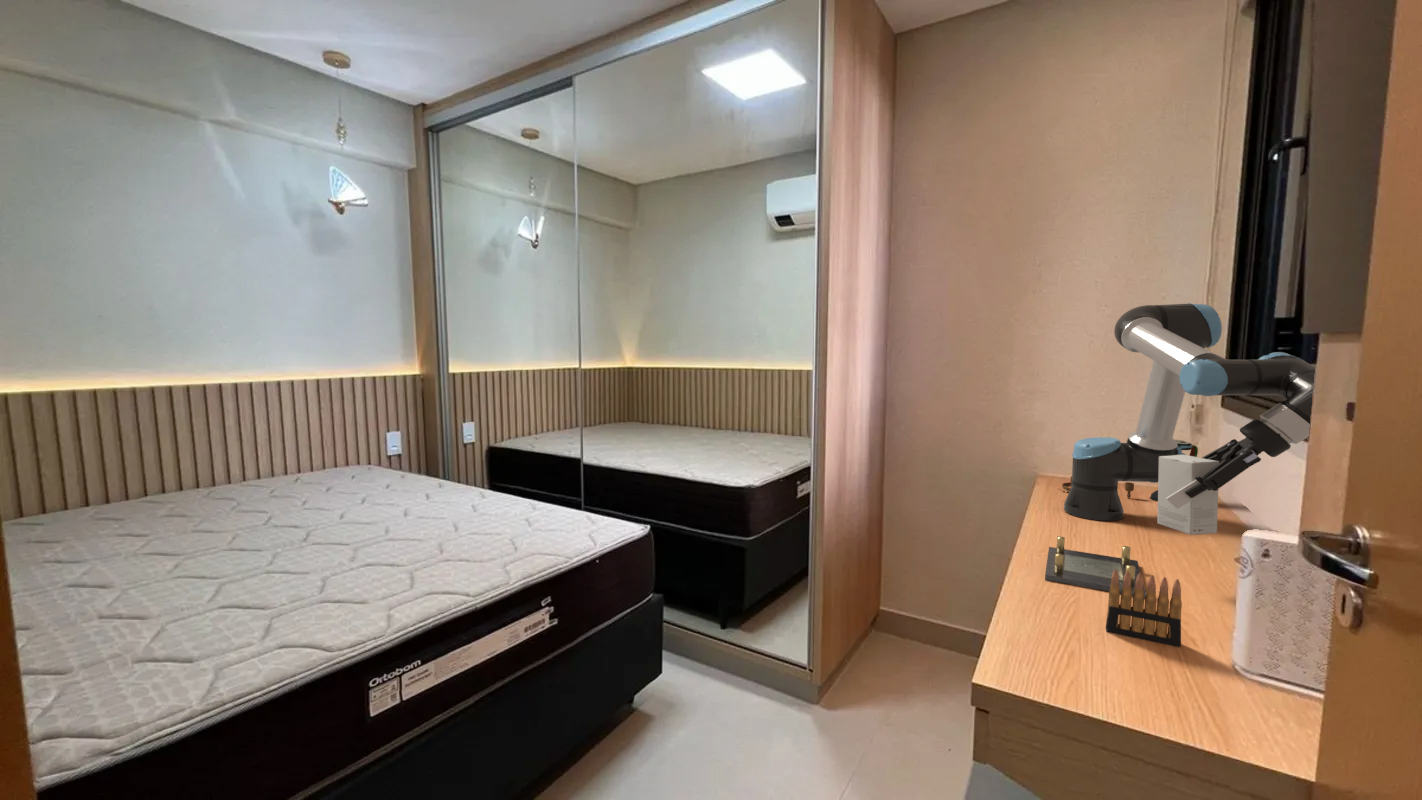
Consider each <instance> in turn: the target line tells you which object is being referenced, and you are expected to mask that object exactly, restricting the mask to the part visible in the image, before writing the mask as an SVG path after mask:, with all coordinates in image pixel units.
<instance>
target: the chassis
mask: <svg viewBox="0 0 1422 800" xmlns="http://www.w3.org/2000/svg"><path fill="white" fill-rule="evenodd" d="M1065 541H1066V538H1065V537H1064V536H1062V535H1061V536H1060V535H1059V536H1056V547H1055V546H1054V547H1052V546H1049V547H1048V552H1047V553H1048V554H1047V559H1046V567H1045V572H1044V573H1045V574H1044V581H1045V580H1046V581H1050V582H1055V583H1061V584H1066V585H1072V586H1077V587H1082V588H1086V589H1087V588H1088V589H1091V590H1092V589H1093V590H1096V591H1097V590H1098V591H1103V592H1108V593H1109V590H1110V585H1111V578H1112V574H1113V572H1114V570H1115V569H1116V570H1117V572H1118V576H1119V591H1120V595H1121V592H1122V587H1123V580H1124V576H1125V573H1126V572H1127V571H1128V572H1129V573H1130V577H1131V593H1132V597H1133V594H1134V590H1135V583H1136V579H1137V576H1138V574H1139V573H1141V569H1140V566H1139V561H1138V560H1135V559H1131V547H1130V546H1128V545H1122V546H1121V557H1117V556H1109V555H1103V554H1097V553H1091V552H1090V553H1089V552H1084V551H1078V550H1073V549H1066V548H1065V543H1066V542H1065ZM1141 574H1142V573H1141ZM1145 588H1146V587H1145V585H1144V583H1143V589H1144V599H1145V596H1146V593H1147V591H1146V589H1145Z"/></svg>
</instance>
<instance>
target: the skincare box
mask: <svg viewBox="0 0 1422 800" xmlns="http://www.w3.org/2000/svg"><path fill="white" fill-rule="evenodd" d="M1189 455H1190V454H1189ZM1189 455H1188V454H1186V455H1172V456H1159V474H1158V482H1157V483H1158V484H1157V485H1158V486H1157V490H1158V502H1157V525H1162V526H1164V527H1167V528H1169V529H1173V530H1176V531H1178V532H1182V533H1184V534H1187V535H1190V536H1192V535H1193V536H1197V535H1210V534H1217V532H1218V508H1219V505H1218V504H1219V489H1218V490H1216V491H1213V490H1210V491H1207V492H1205V493H1203V494H1202V495H1200V496H1198V497H1197V498H1195V499H1193V500H1192V501H1190V502H1188V503H1187V504H1185V505H1183V506H1182V507H1180V508H1178V509H1177V508H1176V507H1175V506H1173V505H1172V504H1171V503H1170V502H1169V501H1168V500H1167V499H1166V498H1167V497H1168V496H1170V495H1172V494H1173V493H1175V492H1177V491H1178V490H1180V489H1181V488H1183V487H1185V486H1186V485H1188V484H1190V483H1191V482H1193V481H1194V480H1196V479H1195V477H1199V476H1200V477H1201V478H1202V477H1203V476H1204V475H1206V474H1207V473H1208V472H1209V471H1210V470H1212V469H1213V468H1214V467H1215V466H1216V465H1218V464H1219V461H1215V460H1209V459H1204V458H1202V457H1198V456H1197V457H1194V456H1189Z"/></svg>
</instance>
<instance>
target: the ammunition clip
mask: <svg viewBox="0 0 1422 800" xmlns="http://www.w3.org/2000/svg"><path fill="white" fill-rule="evenodd" d="M1155 580H1156V579H1155V577H1154V575H1152V574H1151V575H1150V576H1149V578H1148V582H1147V589H1146V596H1145V598H1144V589H1143V584H1144V578H1143V575H1142V573H1139V574H1138V576H1137V579H1136V583H1135V590H1134V594H1133V596H1132V593H1131V577H1130V573H1129V572H1128V571H1127V572H1126V573H1125V576H1124V580H1123V587H1122V592H1121V594H1120V591H1119V576H1118V572H1117V570H1116V569H1115V570H1114V572H1113V574H1112V578H1111V585H1110V590H1109V592H1108V599H1107V600H1108V603H1107V613H1106V621H1105V623H1106V624H1105V631H1106V632H1107V633H1109V634H1114V635H1118V636H1123V637H1128V638H1133V639H1138V640H1142V641H1148V642H1151V643H1156V644H1162V645H1166V646H1171V647H1174V648H1176V647H1177V648H1182V609H1183V608H1182V607H1183V606H1182V604H1183V603H1182V587H1181V582H1180V580H1179V579H1178V578H1177V579H1175V581H1174V583H1173V586H1172V592H1171V596H1170V597H1171V598H1170V600H1169V584H1168V579H1167V578H1166V577H1165V576H1164V577H1163V578H1162V579H1161V582H1160V586H1159V591H1158V597H1157V594H1156V593H1157V592H1156V589H1157V588H1156V587H1157V585H1156V584H1157V583H1156V581H1155Z"/></svg>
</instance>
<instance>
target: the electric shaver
mask: <svg viewBox="0 0 1422 800" xmlns="http://www.w3.org/2000/svg"><path fill="white" fill-rule="evenodd" d="M1174 440H1175V441H1176V442H1177V446H1178V447H1179V448H1180V449H1181V451H1190V452H1189V456H1194V457H1198V453H1199V449H1198V448H1199V447H1198V446H1197V445H1195V444H1192V443H1191V442H1188V441H1185V440H1180V439H1174ZM1182 453H1183V452H1182ZM1183 455H1187V454H1185V453H1183ZM1149 499H1150V500H1151V499H1152V500H1151V501H1154V500H1155V501H1154V502H1157V501H1158V489H1157V490H1154V491H1153V492H1152V493H1151V494H1150V496H1149Z"/></svg>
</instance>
